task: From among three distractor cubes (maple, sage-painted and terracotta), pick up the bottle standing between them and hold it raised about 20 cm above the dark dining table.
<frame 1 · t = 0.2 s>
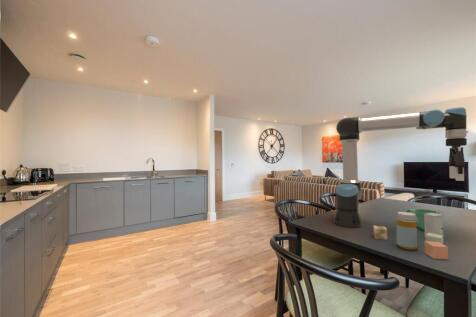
hand: (456, 179, 107), 28 cm above the table, fingers open, 13 cm apart
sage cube: (434, 246, 93), on the table
mug: (421, 228, 116), on the table
terracotta cube: (436, 256, 84), on the table
bottle: (406, 247, 92), on the table
maple cube: (380, 237, 104), on the table
skincare box: (433, 239, 101), on the table
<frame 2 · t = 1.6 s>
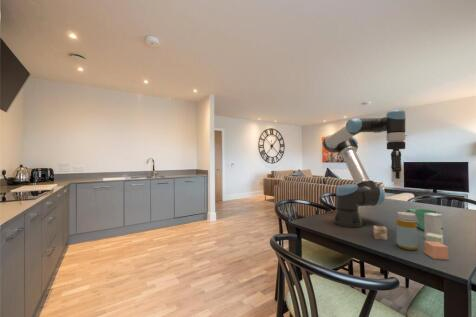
hand: (395, 183, 105), 27 cm above the table, fingers open, 13 cm apart
nothing on the table moved.
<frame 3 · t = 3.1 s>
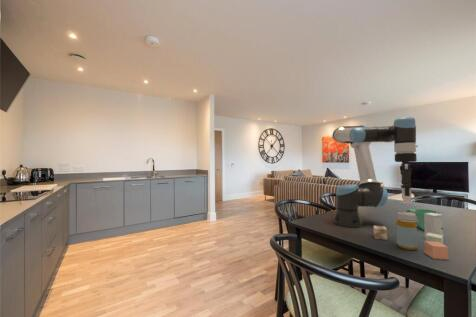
hand: (406, 201, 92), 21 cm above the table, fingers open, 13 cm apart
nothing on the table moved.
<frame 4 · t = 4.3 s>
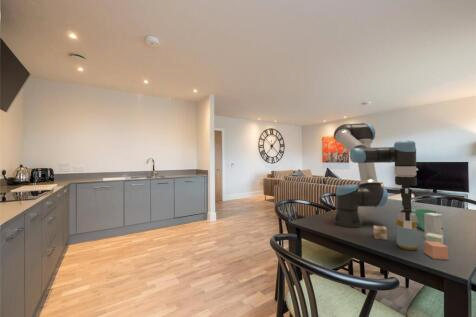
hand: (406, 224, 92), 10 cm above the table, fingers open, 13 cm apart
nothing on the table moved.
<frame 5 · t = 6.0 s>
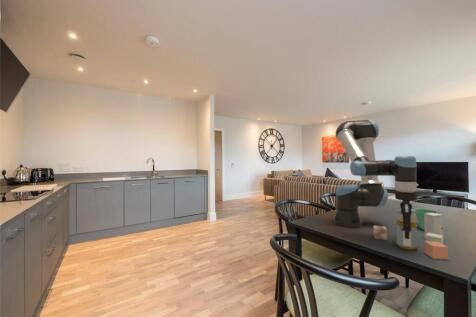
hand: (406, 242, 92), 2 cm above the table, fingers closed on bottle, 6 cm apart
bottle: (406, 247, 92), on the table, touching gripper
everything else where it was.
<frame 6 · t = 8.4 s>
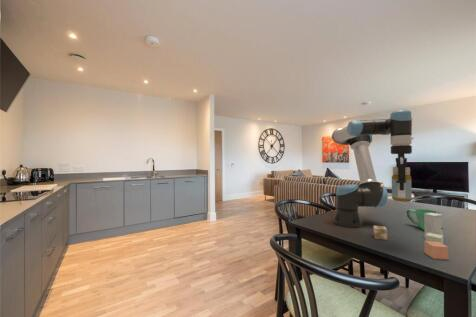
hand: (401, 196, 95), 22 cm above the table, fingers closed on bottle, 6 cm apart
bottle: (401, 200, 95), point 20 cm above the table, touching gripper
everything else where it was.
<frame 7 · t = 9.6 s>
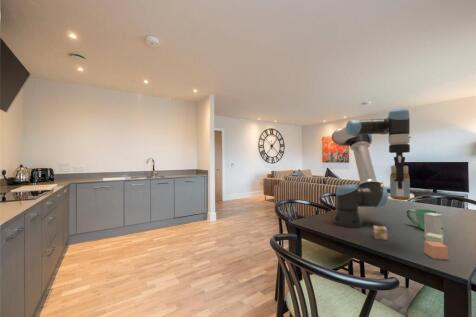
hand: (399, 194, 95), 23 cm above the table, fingers closed on bottle, 6 cm apart
bottle: (400, 199, 95), point 21 cm above the table, touching gripper
everything else where it was.
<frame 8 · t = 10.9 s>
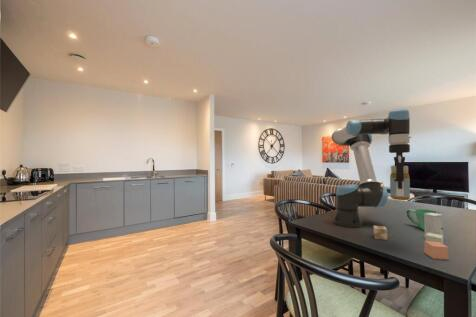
hand: (399, 194, 95), 23 cm above the table, fingers closed on bottle, 6 cm apart
bottle: (400, 199, 95), point 21 cm above the table, touching gripper
everything else where it was.
at the end: the gripper is holding bottle; bottle point 20.7 cm above the table; maple cube moved 0.1 cm from its start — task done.
